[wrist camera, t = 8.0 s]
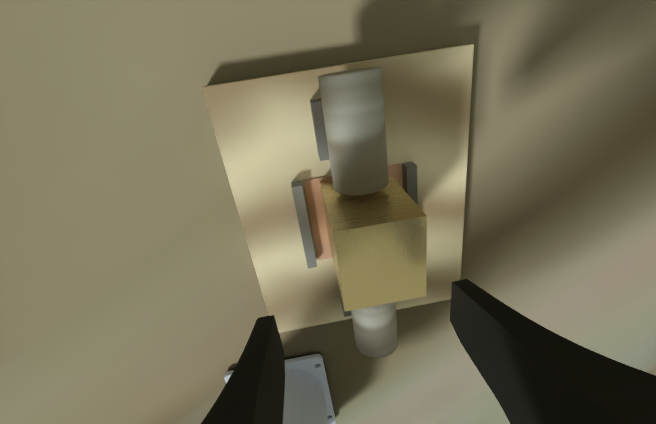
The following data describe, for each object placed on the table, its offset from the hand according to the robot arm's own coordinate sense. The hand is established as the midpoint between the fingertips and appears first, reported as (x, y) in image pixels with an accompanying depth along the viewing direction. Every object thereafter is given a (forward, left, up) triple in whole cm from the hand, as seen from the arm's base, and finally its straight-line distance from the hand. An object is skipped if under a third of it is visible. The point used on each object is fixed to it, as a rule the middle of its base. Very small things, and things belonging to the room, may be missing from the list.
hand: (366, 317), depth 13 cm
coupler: (+1, -1, -8) cm, 8 cm away
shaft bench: (0, -1, -9) cm, 9 cm away
